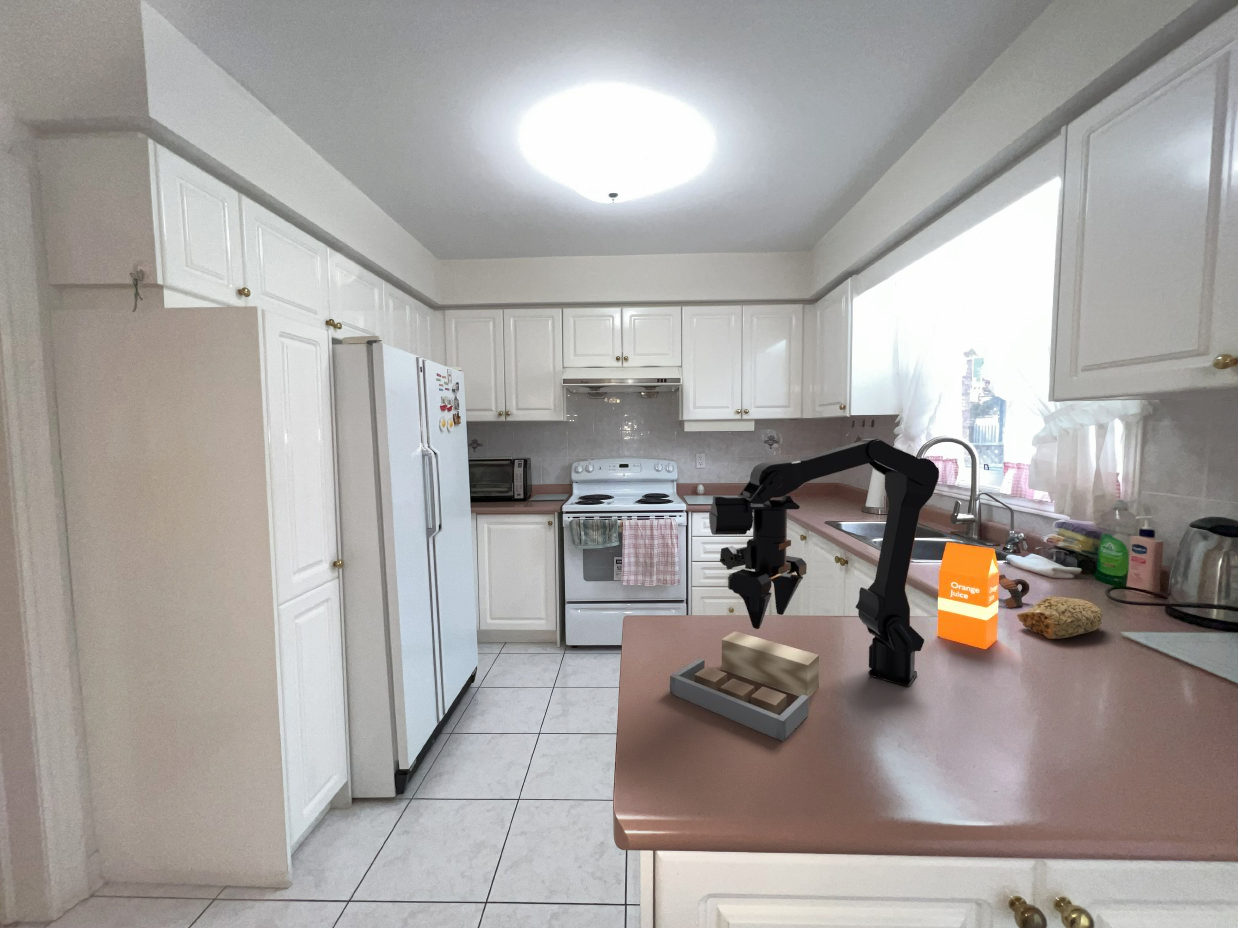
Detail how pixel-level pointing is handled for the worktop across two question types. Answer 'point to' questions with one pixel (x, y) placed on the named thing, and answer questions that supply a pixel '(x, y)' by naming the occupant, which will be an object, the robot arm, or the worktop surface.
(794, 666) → the block
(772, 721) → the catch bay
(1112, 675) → the worktop surface
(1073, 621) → the tan porous lump
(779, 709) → the walnut chip
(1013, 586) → the pottery mug
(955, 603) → the orange juice
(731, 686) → the block
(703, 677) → the walnut chip
